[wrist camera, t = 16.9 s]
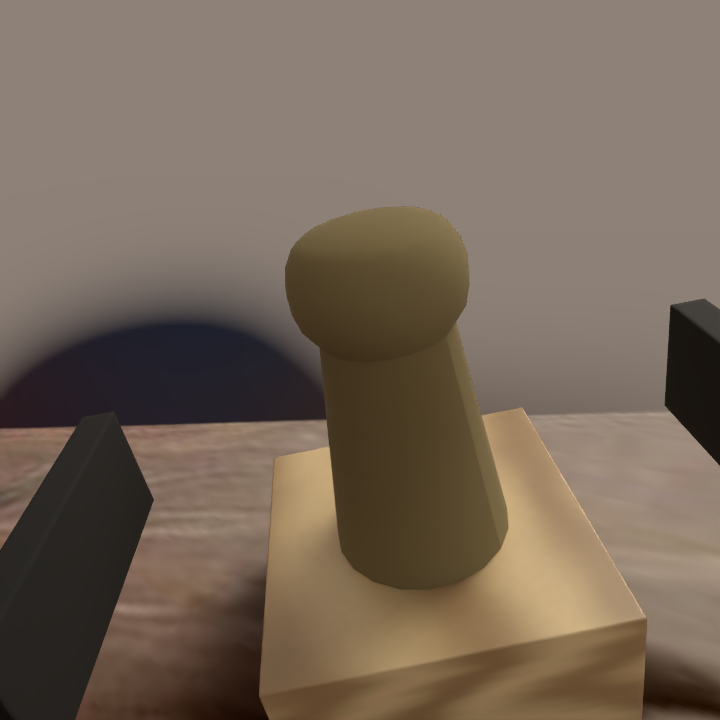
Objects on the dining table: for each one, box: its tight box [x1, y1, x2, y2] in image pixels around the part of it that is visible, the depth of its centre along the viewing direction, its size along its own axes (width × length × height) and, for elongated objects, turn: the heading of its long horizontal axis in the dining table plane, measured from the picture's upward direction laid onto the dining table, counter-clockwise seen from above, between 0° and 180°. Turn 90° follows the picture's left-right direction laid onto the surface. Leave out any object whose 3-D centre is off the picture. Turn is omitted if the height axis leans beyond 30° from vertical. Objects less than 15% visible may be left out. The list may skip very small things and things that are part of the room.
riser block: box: [259, 408, 647, 720], centre depth 23 cm, size 11×11×5 cm
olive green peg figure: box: [285, 206, 509, 589], centre depth 19 cm, size 6×6×11 cm
